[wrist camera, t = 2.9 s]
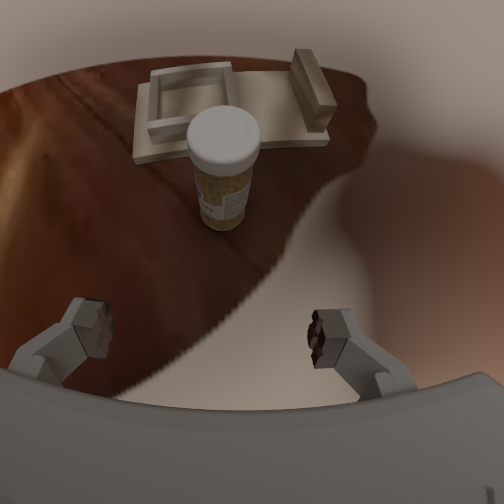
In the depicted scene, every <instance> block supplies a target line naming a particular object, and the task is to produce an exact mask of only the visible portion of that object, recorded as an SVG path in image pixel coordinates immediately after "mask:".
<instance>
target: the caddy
mask: <svg viewBox="0 0 504 504" xmlns="http://www.w3.org/2000/svg"><path fill="white" fill-rule="evenodd" d="M220 105H228V106H235V107H238V108H241V109H243V110H245V111H247V112H248V113H250V114H251V115H252V116H253V117H254V118H255V119H256V120H257V122H258V123H259V126H260V129H261V143H260V148H259V149H271V148H289V147H320V146H326V145H327V144H328V142H329V140H330V138H329V136H328V133H327V130H326V127H327V125H328V123H329V121H330V119H331V117H332V115H333V114H334V112H335V110H336V108H337V104H336V101H335V99H334V97H333V94H332V92H331V90H330V88H329V85H328V83H327V81H326V79H325V77H324V75H323V73H322V71H321V68H320V66H319V65H318V63H317V60H316V58H315V57H314V54H313V52H312V51H311V50H310V49H295V52H294V56H293V60H292V63H291V67H290V71H251V72H232V67H231V62H216V63H205V64H196V65H187V66H180V67H173V68H166V69H160V70H154V71H151V77H150V82H149V83H144V84H139V86H138V95H137V104H136V115H135V127H134V142H133V160H134V162H135V164H136V165H139V164H145V163H151V162H156V161H163V160H169V159H175V158H182V157H190V156H189V152H188V147H187V138H186V134H187V129H188V126H189V124H190V122H191V121H192V119H193V118H194V117H195V116H196V115H197V114H199V113H200V112H202V111H203V110H205V109H208V108H210V107H214V106H220Z"/></svg>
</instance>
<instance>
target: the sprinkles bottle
mask: <svg viewBox="0 0 504 504" xmlns="http://www.w3.org/2000/svg"><path fill="white" fill-rule="evenodd" d="M186 138H187V147H188V152H189V156H190V158H191V160H192V162H193V163H194V170H195V180H196V186H197V192H198V199H199V204H200V214H201V217H202V220H203V221H204V223H205V224H206V225H207V226H209V227H210V228H212V229H214V230H217V231H228V230H232V229H233V228H235V227H237V226H238V225H239V224H240V223H241V221H242V220H243V218H244V214H245V205H246V202H247V198H248V193H249V188H250V183H251V178H252V169H253V164H254V161H255V160H256V158H257V156H258V153H259V148H260V143H261V129H260V126H259V123H258V122H257V120H256V119H255V118H254V117H253V116H252V115H251V114H250V113H248V112H247V111H245V110H243V109H241V108H238V107H235V106H228V105H220V106H214V107H210V108H208V109H205V110H203V111H202V112H200V113H199V114H197V115H196V116H195V117H194V118H193V119H192V121H191V122H190V124H189V126H188V129H187V134H186Z"/></svg>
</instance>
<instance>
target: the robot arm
mask: <svg viewBox="0 0 504 504" xmlns="http://www.w3.org/2000/svg"><path fill="white" fill-rule="evenodd" d="M110 309H111V307H110V305H109V302H108V301H104V300H96V299H89V298H80V297H75V298H74V299H73V300H72V302H71V304H70V305H69V307H68V309H67V311H66V312H65V314H64V316H63V318H62V320H61V321H60V323H56V324H54V325H53V326H51V327H50V328H48V329H47V330H45V331H43V332H42V333H40V334H39V335H37V336H36V337H34V338H33V339H31V340H30V341H29V342H27V343H26V344H24V345H23V346H21V347H20V348H18V350H17V351H16V353H15V355H14V357H13V359H12V361H11V363H10V365H9V367H8V369H4V368H1V367H0V504H504V386H503V385H501V384H500V383H499V382H498V381H496V380H495V379H493V378H492V377H491V376H489V375H487V374H485V373H484V372H476V373H472V374H470V375H466V376H464V377H460V378H458V379H454V380H451V381H448V382H444V383H441V384H438V385H434V386H431V387H427V388H423V389H419V390H418V389H417V386H416V384H415V382H414V380H413V378H412V375H411V373H410V371H409V369H408V367H407V366H405V365H404V364H403V363H401V362H400V361H399V360H397V359H396V358H395V357H393V356H392V355H391V354H389V353H388V352H387V351H385V350H384V349H383V348H381V347H380V346H379V345H377V344H376V343H374V342H373V341H372V340H370V339H369V338H368V337H363V334H362V332H361V330H360V327H359V325H358V323H357V321H356V319H355V316H354V314H353V312H352V310H351V309H326V310H314V312H313V314H312V320H313V322H312V323H311V324H310V325H309V328H308V335H307V338H308V345H309V348H311V349H312V350H313V352H312V355H311V357H312V361H313V365H314V368H315V369H319V368H334V369H335V370H336V371H337V372H338V373H339V374H340V376H342V378H343V379H344V380H345V381H346V382H347V383H348V384H349V385H350V386H351V387H352V388H353V389H354V390H355V391H356V392H357V393H358V394H359V395H360V396H361V397H360V398H359V400H358V401H357V402H353V403H346V404H339V405H331V406H322V407H312V408H300V409H285V410H258V411H257V410H256V411H231V410H228V411H227V410H203V409H188V408H176V407H165V406H157V405H149V404H142V403H134V402H128V401H122V400H117V399H111V398H106V397H101V396H96V395H91V394H87V393H83V392H78V391H74V390H70V389H66V388H64V387H63V386H62V384H61V383H62V382H63V381H64V380H65V379H66V378H67V377H68V376H69V375H70V374H71V373H72V372H73V371H74V370H75V369H76V368H77V367H78V366H79V365H80V364H81V363H82V362H83V361H84V360H85V359H87V356H88V357H94V358H102V359H105V358H106V355H107V353H108V350H109V347H110V346H109V344H108V342H109V341H110V340H111V339H113V336H114V332H115V321H114V317H113V316H112V315H111V314H110V313H109V311H110Z"/></svg>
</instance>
